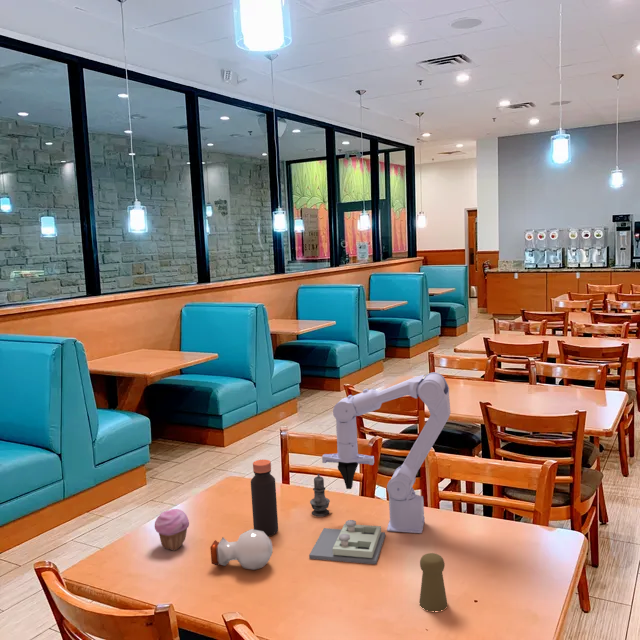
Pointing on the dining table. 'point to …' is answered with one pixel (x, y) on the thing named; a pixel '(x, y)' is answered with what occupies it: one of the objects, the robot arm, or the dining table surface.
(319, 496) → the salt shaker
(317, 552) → the boss board
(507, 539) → the dining table surface
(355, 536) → the panel
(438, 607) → the olive pawn
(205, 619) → the dining table surface
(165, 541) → the cupcake
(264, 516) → the vinegar
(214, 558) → the potion bottle
